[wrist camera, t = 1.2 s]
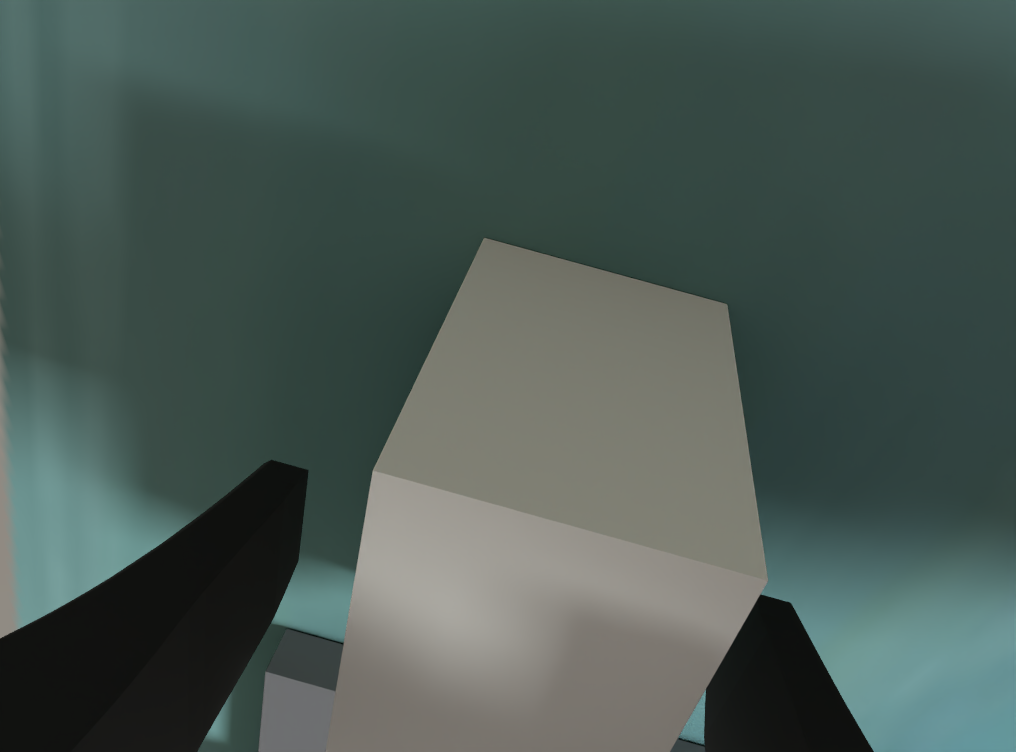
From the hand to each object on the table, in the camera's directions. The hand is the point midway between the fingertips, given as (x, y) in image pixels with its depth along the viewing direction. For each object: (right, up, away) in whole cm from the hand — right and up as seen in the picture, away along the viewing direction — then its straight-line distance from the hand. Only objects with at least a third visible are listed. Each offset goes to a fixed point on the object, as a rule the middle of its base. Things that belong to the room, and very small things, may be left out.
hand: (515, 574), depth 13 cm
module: (+1, +1, +2) cm, 3 cm away
